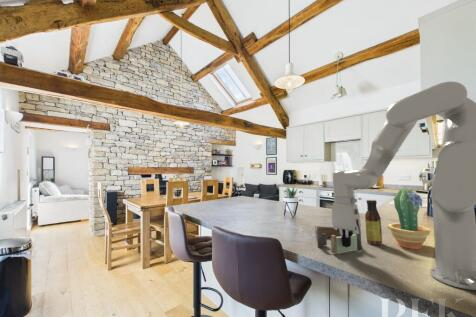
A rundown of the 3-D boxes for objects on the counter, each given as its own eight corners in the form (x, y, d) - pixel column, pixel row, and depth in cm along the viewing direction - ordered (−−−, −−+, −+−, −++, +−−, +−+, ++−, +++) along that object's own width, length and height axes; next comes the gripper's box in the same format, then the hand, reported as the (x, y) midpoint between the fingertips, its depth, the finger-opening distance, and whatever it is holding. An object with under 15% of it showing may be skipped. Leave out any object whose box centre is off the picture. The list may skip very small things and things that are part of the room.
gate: (354, 248, 95) (353, 231, 95) (357, 249, 93) (356, 232, 94) (331, 252, 91) (330, 235, 91) (334, 253, 89) (333, 236, 90)
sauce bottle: (384, 246, 98) (382, 201, 99) (369, 245, 99) (367, 201, 100) (378, 241, 105) (376, 199, 106) (364, 240, 106) (362, 199, 107)
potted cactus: (391, 248, 95) (387, 190, 97) (386, 238, 109) (383, 187, 110) (437, 254, 88) (433, 191, 89) (426, 242, 102) (422, 188, 103)
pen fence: (362, 250, 93) (361, 229, 94) (317, 247, 98) (317, 227, 98) (351, 237, 110) (351, 219, 111) (314, 236, 115) (313, 218, 115)
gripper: (367, 201, 86) (370, 249, 85) (333, 198, 98) (335, 239, 97) (356, 203, 82) (359, 253, 81) (322, 199, 94) (324, 243, 93)
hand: (346, 246), depth 89 cm, fingers closed
